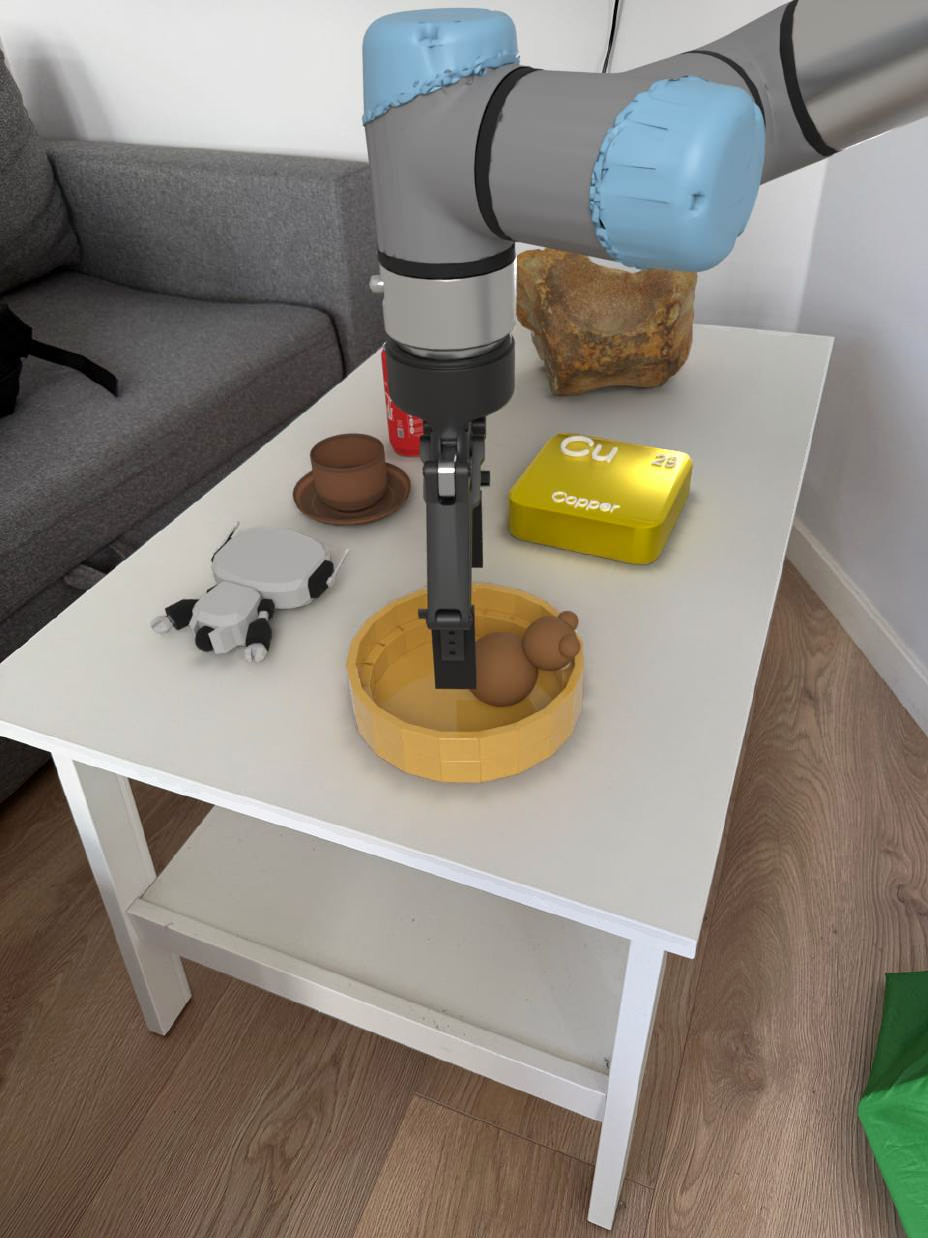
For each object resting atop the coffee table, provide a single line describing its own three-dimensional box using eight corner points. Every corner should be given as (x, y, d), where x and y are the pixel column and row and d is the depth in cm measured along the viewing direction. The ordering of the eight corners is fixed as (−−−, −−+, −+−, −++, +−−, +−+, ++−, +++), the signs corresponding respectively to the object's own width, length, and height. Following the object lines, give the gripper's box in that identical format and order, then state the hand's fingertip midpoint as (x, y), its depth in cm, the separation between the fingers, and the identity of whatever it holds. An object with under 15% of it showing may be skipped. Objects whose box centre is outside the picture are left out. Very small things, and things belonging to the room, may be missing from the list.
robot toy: (270, 690, 74) (360, 577, 83) (257, 650, 71) (353, 538, 80) (150, 652, 78) (249, 549, 88) (133, 613, 75) (238, 510, 85)
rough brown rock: (484, 405, 112) (482, 287, 102) (515, 342, 124) (516, 230, 113) (675, 429, 107) (694, 307, 97) (689, 361, 119) (708, 245, 108)
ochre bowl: (575, 630, 77) (577, 582, 74) (586, 790, 63) (590, 740, 60) (370, 629, 78) (364, 582, 75) (338, 787, 64) (329, 737, 61)
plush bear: (493, 682, 73) (596, 628, 69) (492, 732, 69) (601, 679, 65) (450, 638, 70) (554, 580, 66) (446, 688, 66) (557, 629, 62)
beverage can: (422, 462, 100) (415, 357, 93) (381, 453, 102) (371, 350, 95) (443, 441, 104) (438, 338, 96) (403, 433, 106) (395, 332, 98)
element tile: (501, 537, 88) (501, 494, 85) (554, 465, 99) (555, 424, 96) (654, 570, 83) (659, 526, 80) (692, 490, 94) (698, 448, 91)
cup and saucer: (289, 484, 98) (280, 432, 94) (399, 467, 100) (395, 415, 96) (302, 545, 88) (292, 490, 85) (423, 524, 90) (419, 469, 87)
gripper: (405, 262, 62) (423, 524, 76) (353, 437, 43) (390, 747, 56) (516, 261, 62) (514, 524, 75) (513, 436, 43) (512, 749, 56)
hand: (461, 620), depth 66 cm, fingers open, 13 cm apart
